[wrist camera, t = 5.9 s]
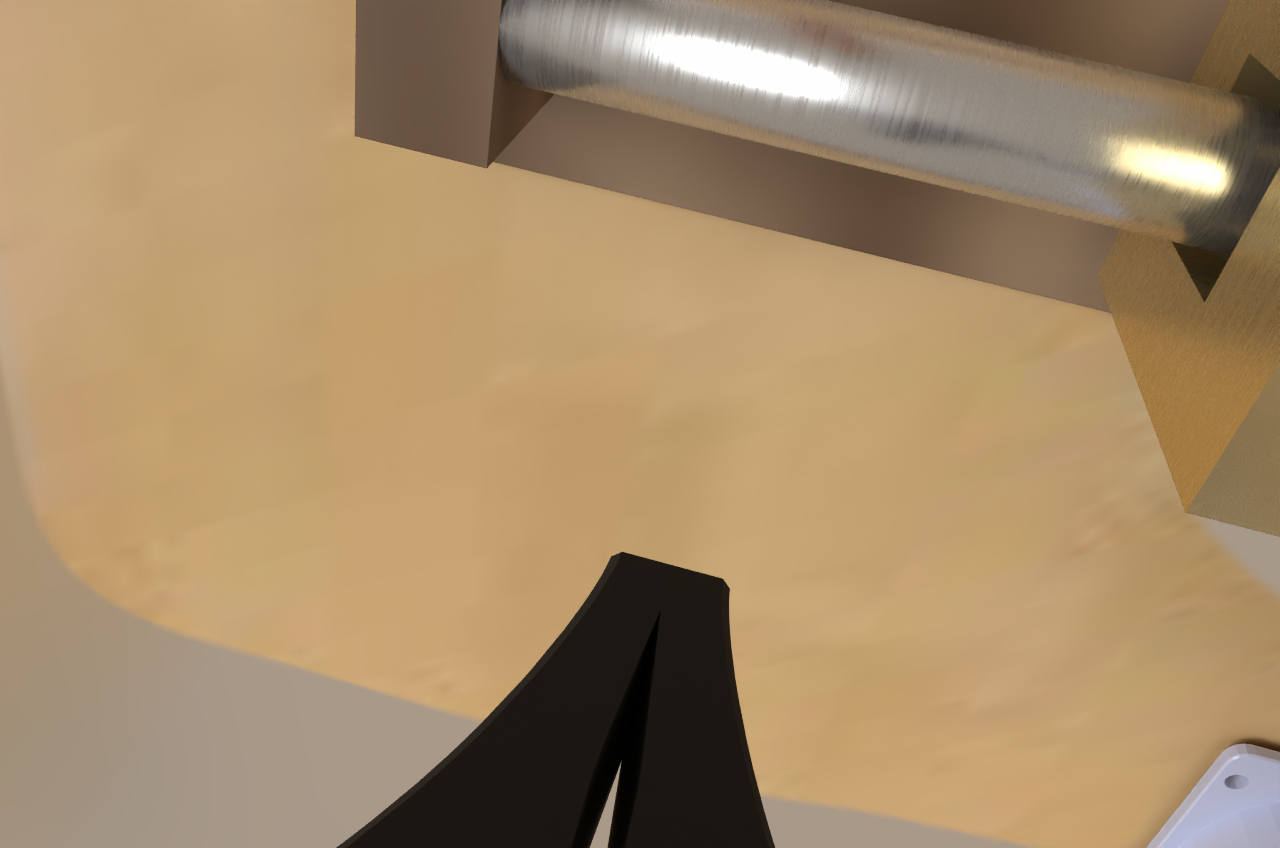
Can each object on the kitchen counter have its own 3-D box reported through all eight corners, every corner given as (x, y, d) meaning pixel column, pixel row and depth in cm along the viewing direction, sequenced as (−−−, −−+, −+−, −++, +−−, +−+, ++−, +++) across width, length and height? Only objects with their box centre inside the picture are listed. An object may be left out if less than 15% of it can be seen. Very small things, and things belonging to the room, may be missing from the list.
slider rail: (1710, -98, 15) (2060, -21, 10) (1386, 366, 20) (1533, 558, 15) (508, -351, 16) (359, -379, 12) (469, 143, 21) (353, 259, 16)
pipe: (1708, 176, 14) (1829, 243, 12) (1592, 318, 15) (1687, 398, 13) (418, -117, 15) (353, -96, 13) (412, 37, 16) (352, 76, 14)
